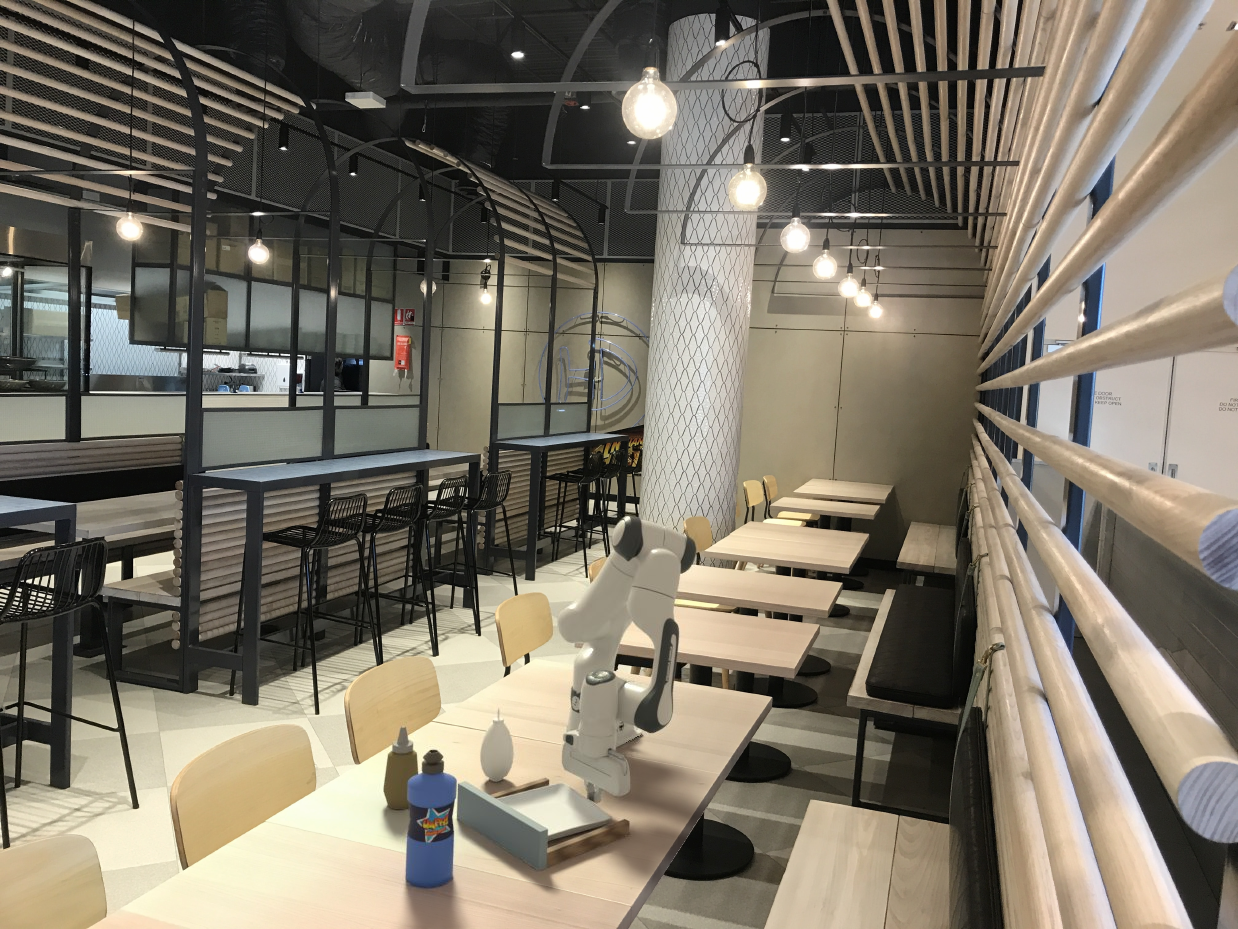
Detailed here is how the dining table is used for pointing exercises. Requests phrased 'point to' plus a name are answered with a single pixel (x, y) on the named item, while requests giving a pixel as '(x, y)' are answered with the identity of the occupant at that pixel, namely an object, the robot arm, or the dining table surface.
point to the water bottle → (430, 824)
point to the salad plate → (558, 809)
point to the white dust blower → (497, 750)
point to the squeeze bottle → (400, 771)
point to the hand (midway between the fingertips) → (593, 800)
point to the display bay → (525, 827)
